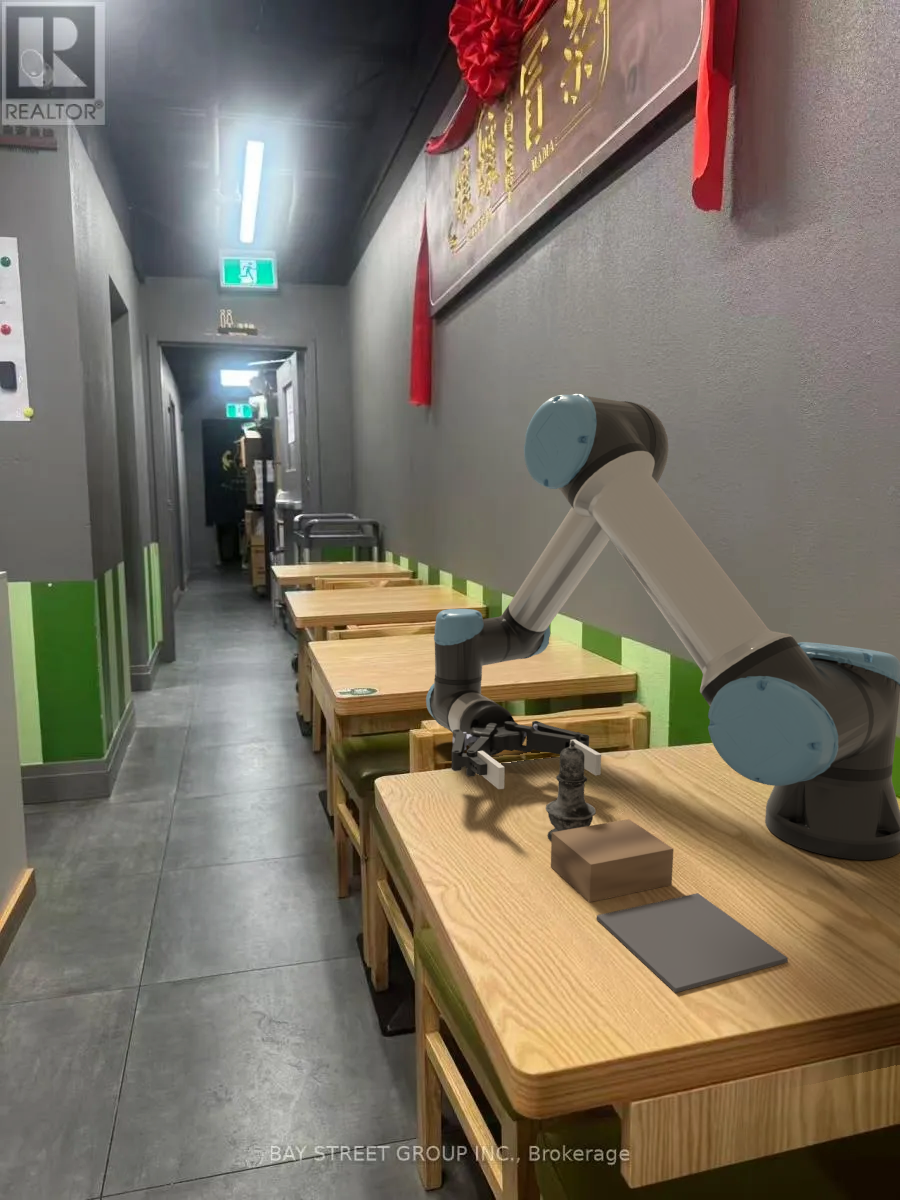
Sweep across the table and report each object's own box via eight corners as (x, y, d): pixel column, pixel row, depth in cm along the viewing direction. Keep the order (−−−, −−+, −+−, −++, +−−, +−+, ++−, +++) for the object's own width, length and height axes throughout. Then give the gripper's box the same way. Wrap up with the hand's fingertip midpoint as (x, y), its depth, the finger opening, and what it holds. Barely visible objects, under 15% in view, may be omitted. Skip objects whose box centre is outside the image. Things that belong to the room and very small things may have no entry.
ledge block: (550, 866, 86) (551, 832, 86) (627, 852, 90) (629, 819, 89) (589, 902, 79) (590, 864, 78) (671, 884, 82) (673, 848, 82)
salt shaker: (552, 823, 97) (554, 730, 96) (599, 831, 95) (602, 736, 94) (539, 843, 92) (541, 744, 90) (588, 852, 90) (592, 751, 88)
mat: (697, 896, 80) (697, 893, 80) (787, 962, 69) (787, 957, 69) (596, 919, 76) (596, 915, 76) (675, 992, 65) (675, 988, 65)
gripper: (555, 739, 122) (634, 787, 102) (402, 758, 113) (457, 814, 93) (556, 692, 121) (637, 731, 101) (402, 707, 112) (458, 753, 92)
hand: (551, 771), depth 97 cm, fingers open, 13 cm apart
